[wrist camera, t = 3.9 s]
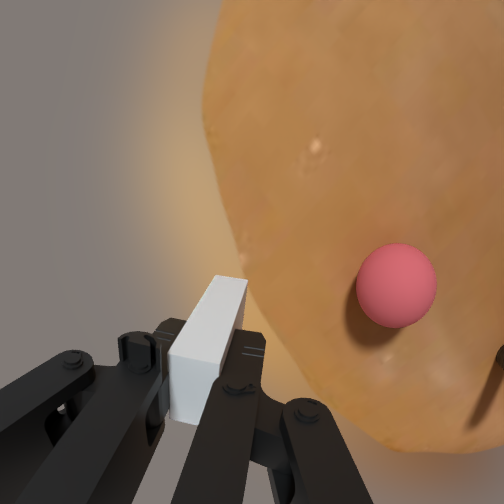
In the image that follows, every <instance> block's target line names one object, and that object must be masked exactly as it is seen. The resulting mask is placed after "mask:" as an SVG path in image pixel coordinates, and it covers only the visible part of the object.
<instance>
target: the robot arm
mask: <svg viewBox="0 0 504 504" xmlns="http://www.w3.org/2000/svg"><path fill="white" fill-rule="evenodd" d="M247 285H248V280H245V279H239V278H232V277H226V276H219V275H215V277H214V278H213V280H212V282H211V283H210V285H209V286H208V288H207V290H206V291H205V293H204V294H203V296H202V298H201V299H200V301H199V303H198V304H197V306H196V307H195V309H194V311H193V312H192V314H191V316H190V317H189V319H188V320H187V321H185V320H180V319H175V318H169V319H167V320H165V321H163V322H161V324H160V325H159V326H158V327H157V329H156V331H154V333H153V334H150V333H147V332H140V331H136V332H129V333H125V334H123V335H121V336H120V337H119V338H118V348H119V357H120V362H119V363H118V364H117V366H100V365H94V362H93V359H92V357H91V356H90V355H89V354H88V353H86V352H84V351H80V350H69V351H64V352H62V353H60V354H58V355H56V356H55V357H53V358H51V359H50V360H48V361H46V362H45V363H43V364H41V365H40V366H38V367H36V368H35V369H33V370H31V371H30V372H28V373H26V374H25V375H23V376H21V377H20V378H18V379H16V380H15V381H13V382H12V383H10V384H8V385H7V386H5V387H4V388H2V389H0V504H132V501H133V499H134V497H135V495H136V492H137V490H138V488H139V485H140V483H141V481H142V479H143V476H144V474H145V472H146V470H147V467H148V465H149V463H150V461H151V459H152V456H153V454H154V452H155V449H156V447H157V445H158V443H159V441H160V438H161V436H162V434H163V432H164V428H165V419H164V418H165V416H166V413H167V411H168V409H169V418H170V419H172V420H176V421H180V422H185V423H189V424H193V425H198V427H197V430H196V433H195V436H194V439H193V441H192V445H191V447H190V450H189V453H188V456H187V458H186V461H185V464H184V467H183V470H182V473H181V476H180V479H179V481H178V484H177V487H176V490H175V492H174V496H173V498H172V501H171V504H242V502H243V496H244V491H245V484H246V478H247V472H248V466H249V460H251V461H253V462H255V463H258V464H260V465H263V466H265V467H267V471H268V475H269V480H270V484H271V489H272V493H273V497H274V502H275V504H373V502H372V500H371V497H370V495H369V493H368V491H367V489H366V487H365V484H364V482H363V480H362V478H361V476H360V474H359V471H358V469H357V467H356V465H355V463H354V461H353V459H352V456H351V454H350V452H349V450H348V448H347V446H346V444H345V442H344V439H343V437H342V435H341V433H340V431H339V429H338V427H337V425H336V422H335V420H334V418H333V416H332V414H331V412H330V410H329V409H328V408H327V406H326V405H324V404H322V403H321V402H319V401H317V400H314V399H311V398H297V399H293V400H291V401H289V402H287V403H286V404H283V403H280V402H278V401H275V400H273V399H271V398H270V397H269V396H267V395H266V394H265V393H264V392H263V390H262V388H261V383H260V382H261V375H262V368H263V359H264V353H265V345H266V340H265V338H264V336H263V335H262V333H259V332H252V331H246V330H242V324H243V316H244V309H245V300H246V293H247ZM62 404H64V407H65V408H64V409H63V410H61V411H58V410H57V408H58V407H60V406H61V405H62Z"/></svg>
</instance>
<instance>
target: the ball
mask: <svg viewBox="0 0 504 504" xmlns="http://www.w3.org/2000/svg"><path fill="white" fill-rule="evenodd" d="M436 288H437V281H436V275H435V271H434V268H433V266H432V264H431V262H430V261H429V259H428V258H427V257H426V256H425V255H424V254H423V253H422V252H421V251H420V250H418V249H416V248H415V247H412V246H410V245H406V244H400V243H395V244H388V245H385V246H382V247H380V248H378V249H376V250H375V251H373V252H372V253H371V254H370V255H369V256H368V257H367V258H366V259H365V261H364V262H363V264H362V266H361V268H360V270H359V272H358V276H357V281H356V293H357V297H358V301H359V304H360V306H361V308H362V309H363V311H364V312H365V314H366V315H367V316H368V317H369V318H370V319H371V320H373V321H374V322H376V323H378V324H380V325H382V326H385V327H390V328H402V327H406V326H409V325H411V324H413V323H415V322H417V321H418V320H420V319H421V318H422V317H423V316H424V315H425V314H426V313H427V312H428V310H429V309H430V307H431V305H432V303H433V301H434V299H435V295H436Z"/></svg>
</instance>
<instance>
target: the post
mask: <svg viewBox="0 0 504 504" xmlns="http://www.w3.org/2000/svg"><path fill="white" fill-rule="evenodd" d="M496 361H497V363H498V364H499V365H500V366H501V368H502V369H503V370H504V345H503V346H502V347H501V348H500V350H499V351H498V353H497V356H496Z"/></svg>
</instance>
